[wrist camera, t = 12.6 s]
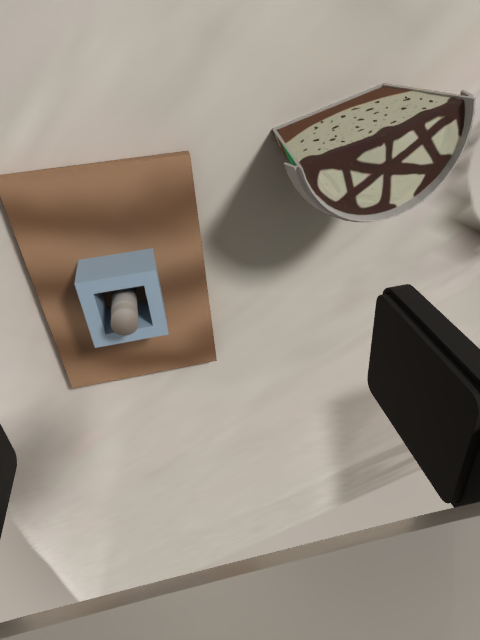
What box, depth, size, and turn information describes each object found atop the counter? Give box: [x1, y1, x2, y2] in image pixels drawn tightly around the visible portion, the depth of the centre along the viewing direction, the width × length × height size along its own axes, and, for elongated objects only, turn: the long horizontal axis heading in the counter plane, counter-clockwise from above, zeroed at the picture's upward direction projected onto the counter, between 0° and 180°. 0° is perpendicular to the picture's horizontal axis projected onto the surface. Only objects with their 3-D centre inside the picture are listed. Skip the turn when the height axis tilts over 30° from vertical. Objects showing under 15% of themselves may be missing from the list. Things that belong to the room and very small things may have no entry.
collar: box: [74, 248, 169, 348], centre depth 38 cm, size 6×6×4 cm
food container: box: [272, 83, 475, 222], centre depth 34 cm, size 12×6×10 cm, turn 108°
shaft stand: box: [0, 151, 217, 388], centre depth 37 cm, size 20×14×7 cm
